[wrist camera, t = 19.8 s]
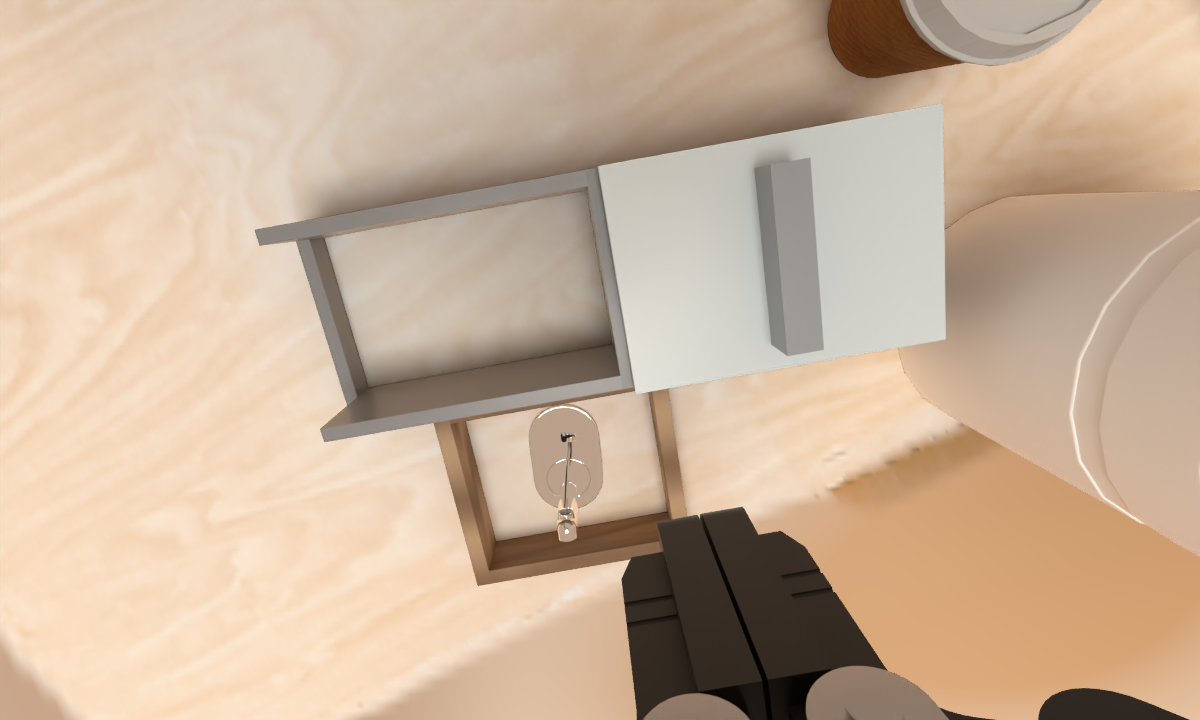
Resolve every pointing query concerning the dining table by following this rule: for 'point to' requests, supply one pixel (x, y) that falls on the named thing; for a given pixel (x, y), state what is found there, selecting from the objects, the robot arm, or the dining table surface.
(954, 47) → the disposable coffee cup
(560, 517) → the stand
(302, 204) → the dining table surface
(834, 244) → the lid
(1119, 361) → the canister
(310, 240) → the frame
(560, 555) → the parts frame
